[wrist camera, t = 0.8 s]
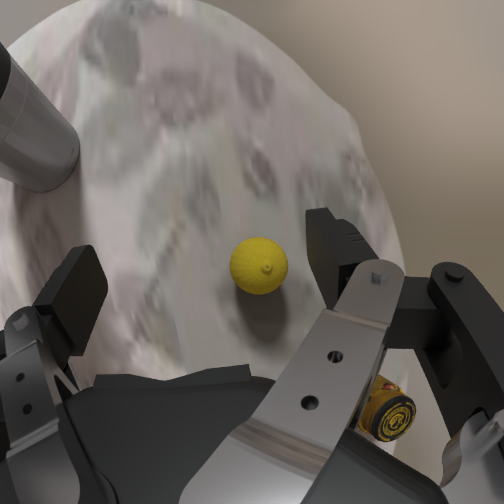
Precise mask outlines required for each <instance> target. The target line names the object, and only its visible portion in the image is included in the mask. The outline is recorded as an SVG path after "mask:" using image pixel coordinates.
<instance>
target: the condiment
mask: <svg viewBox="0 0 504 504" xmlns="http://www.w3.org/2000/svg"><path fill="white" fill-rule="evenodd" d="M415 414H416V407H415V404H414V402H413V400H412V399H411V398H409V397H408V396H406V395H405V394H404V393H403V392H402V390H401V389H400V388H399V387H398V386H397V385H395V384H394V383H392V382H390V381H389V380H387V379H386V378H384V377H382V376H381V375H379V374H378V376H377V379H376V382H375V384H374V386H373V389H372V391H371V394H370V396H369V399H368V402H367V404H366V407H365V409H364V412H363V414H362V417H361V419H360V421H359V423H358V425H357V426H358V427H359V428H360V429H361V430H362V431H364V432H366V433H370V434H371V435H373V436H374V438H375V439H377V440H378V441H382V442H389V441H393V440H395V439H398V438H399V437H400V436H402V435H403V434H404V433H405V432H406V431H407V430H408V429H409V428H410V426H411V424H412V423H413V421H414V418H415Z"/></svg>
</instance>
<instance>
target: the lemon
mask: <svg viewBox="0 0 504 504" xmlns="http://www.w3.org/2000/svg"><path fill="white" fill-rule="evenodd" d="M287 272H288V260H287V257H286V254H285V252H284V251H283V249H282V248H281V247H280V246H279V245H278V244H277V243H276V242H274V241H272V240H270V239H268V238H263V237H253V238H250V239H247V240H245V241H243V242H242V243H240V244H239V245H238V246H237V247H236V248H235V250H234V251H233V253H232V255H231V259H230V273H231V276H232V278H233V280H234V282H235V283H236V284H237V285H238V286H239V287H240V288H241V289H242V290H244V291H246V292H248V293H251V294H260V295H262V294H266V293H270V292H272V291H274V290H276V289H277V288H278V287H279V286H280V285H281V284H282V283H283V281H284V280H285V278H286V275H287Z"/></svg>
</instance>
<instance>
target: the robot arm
mask: <svg viewBox="0 0 504 504" xmlns="http://www.w3.org/2000/svg"><path fill="white" fill-rule="evenodd" d="M79 147H80V146H79V138H78V135H77V133H76V131H75V130H74V128H73V127H72V126H71V125H70V124H69V122H68V121H67V120H66V119H65V118H64V117H63V116H62V114H61V113H60V112H59V111H58V110H57V109H56V108H55V106H54V105H53V104H52V103H51V102H50V101H49V100H48V98H47V97H46V96H45V95H44V94H43V93H42V92H41V90H40V89H39V88H38V87H37V86H36V85H35V83H34V82H33V81H32V80H31V79H30V78H29V76H28V75H27V74H26V73H25V72H24V70H23V69H22V68H21V67H20V66H19V65H18V64H17V62H16V61H15V60H14V59H13V57H12V56H11V55H10V54H9V53H8V51H7V50H6V49H5V48H4V46H3V45H2V44H1V42H0V177H2V178H4V179H6V180H8V181H11V182H13V183H15V184H17V185H20V186H22V187H24V188H27V189H29V190H32V191H35V192H46V191H50V190H52V189H54V188H56V187H58V186H59V185H60V184H62V183H63V182H64V181H65V180H66V179H67V178H68V176H69V175H70V173H71V172H72V170H73V169H74V166H75V164H76V162H77V159H78V155H79ZM305 219H306V243H307V256H308V261H309V265H310V267H311V270H312V272H313V275H314V277H315V279H316V282H317V284H318V287H319V289H320V292H321V294H322V297H323V299H324V302H325V304H326V307H327V308H325V309H324V310H323V311H322V312H321V313H320V315H319V316H318V318H317V320H316V321H315V323H314V324H313V326H312V328H311V329H310V331H309V332H308V334H307V335H306V337H305V339H304V340H303V342H302V343H301V345H300V346H299V348H298V349H297V351H296V352H295V354H294V356H293V357H292V359H291V360H290V362H289V363H288V365H287V366H286V368H285V369H284V370H283V372H282V373H281V375H280V376H279V378H278V379H277V381H275V380H272V379H268V378H263V377H257V376H251V373H250V368H249V364H245V365H237V366H229V367H220V368H211V369H205V370H202V371H199V372H195V373H192V374H189V375H185V376H182V377H178V378H175V379H171V380H167V381H162V380H156V379H151V378H146V377H141V376H136V375H131V374H110V375H96V378H95V381H94V385H93V387H89V388H86V389H84V390H83V389H82V387H81V385H80V382H79V380H78V378H77V375H76V373H75V371H74V368H73V366H72V364H71V363H70V362H69V360H68V359H69V356H83V354H84V351H85V349H86V346H87V343H88V340H89V338H90V335H91V332H92V330H93V327H94V325H95V322H96V320H97V317H98V315H99V312H100V310H101V307H102V305H103V302H104V300H105V298H106V295H107V292H108V283H107V279H106V276H105V274H104V271H103V269H102V267H101V264H100V262H99V259H98V257H97V254H96V252H95V250H94V248H93V247H92V246H91V245H84V246H79V247H74V248H72V249H71V251H70V252H69V253H68V255H67V256H66V258H65V259H64V261H63V262H62V263H61V265H60V266H59V267H58V268H57V269H55V271H54V272H53V274H52V275H51V277H50V278H49V279H50V280H48V281H47V283H46V284H45V287H43V289H42V291H41V292H40V294H39V295H38V297H37V299H36V300H35V302H34V303H33V305H32V307H31V306H27V307H23V308H21V309H19V310H17V311H16V312H14V313H13V314H12V315H11V316H10V317H9V318H8V320H7V321H6V323H5V326H4V330H1V331H0V504H504V312H503V311H502V310H501V309H500V307H499V306H498V304H497V303H496V302H495V301H494V299H493V298H492V297H491V295H490V294H489V293H488V292H487V291H486V289H485V288H484V287H483V285H482V284H481V283H480V282H479V281H478V279H477V278H476V277H475V276H474V275H473V273H472V272H471V271H470V270H468V269H467V268H466V267H464V266H462V265H460V264H457V263H452V262H442V263H439V264H437V265H435V266H434V267H433V269H432V272H431V276H430V278H426V277H407V276H404V272H403V271H402V269H401V268H400V267H399V266H398V265H396V264H394V263H393V262H390V261H387V260H382V259H379V258H378V256H377V255H376V254H375V252H374V251H373V250H372V248H371V247H370V245H369V244H368V243H367V242H366V240H364V238H363V236H362V235H361V234H360V232H359V231H358V230H357V228H356V227H355V226H354V225H353V224H351V223H350V222H348V221H346V220H344V219H338V220H336V219H335V218H334V216H333V215H332V213H331V212H330V211H329V209H328V208H327V207H326V208H318V209H310V210H306V214H305ZM388 348H393V349H414V351H415V353H416V356H417V358H418V360H419V362H420V364H421V367H422V369H423V371H424V373H425V376H426V378H427V380H428V382H429V385H430V387H431V390H432V392H433V394H434V397H435V399H436V401H437V404H438V406H439V409H440V411H441V414H442V416H443V419H444V422H445V424H446V427H447V429H448V432H449V435H450V438H451V440H450V441H449V442H448V443H447V445H446V447H445V448H444V451H443V455H442V464H443V477H442V481H441V483H440V485H439V486H438V485H437V484H436V483H435V482H434V481H432V480H431V479H429V478H428V477H427V476H425V475H423V474H421V473H420V472H418V471H416V470H415V469H413V468H411V467H410V466H408V465H406V464H405V463H403V462H401V461H400V460H398V459H397V458H395V457H393V456H392V455H390V454H389V453H387V452H385V451H384V450H382V449H381V448H379V447H378V446H376V445H375V444H373V443H372V442H370V441H369V440H367V439H366V438H364V437H363V436H361V435H360V434H358V433H357V432H355V430H356V428H357V425H358V423H359V421H360V419H361V417H362V414H363V412H364V409H365V407H366V404H367V402H368V399H369V396H370V394H371V391H372V389H373V386H374V384H375V382H376V379H377V376H378V374H379V371H380V369H381V366H382V363H383V361H384V358H385V355H386V352H387V349H388Z"/></svg>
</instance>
